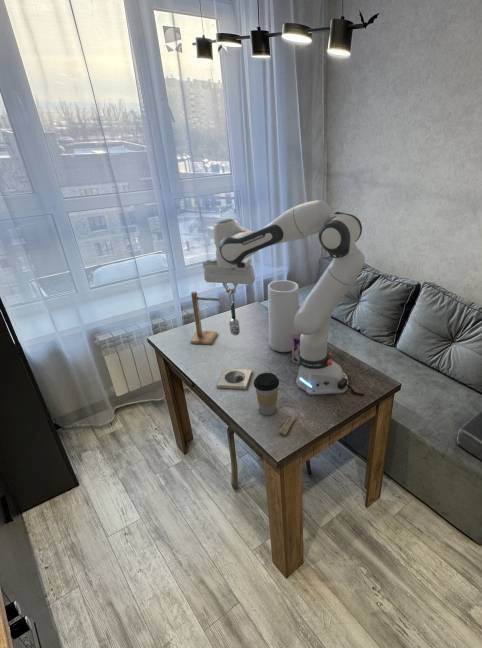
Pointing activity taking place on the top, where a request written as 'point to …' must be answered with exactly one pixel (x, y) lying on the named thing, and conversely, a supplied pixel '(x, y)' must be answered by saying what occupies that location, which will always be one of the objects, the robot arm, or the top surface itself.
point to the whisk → (233, 316)
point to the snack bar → (287, 425)
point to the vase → (282, 313)
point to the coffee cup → (267, 392)
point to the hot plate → (234, 378)
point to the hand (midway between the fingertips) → (231, 292)
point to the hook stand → (200, 335)
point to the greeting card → (295, 348)
